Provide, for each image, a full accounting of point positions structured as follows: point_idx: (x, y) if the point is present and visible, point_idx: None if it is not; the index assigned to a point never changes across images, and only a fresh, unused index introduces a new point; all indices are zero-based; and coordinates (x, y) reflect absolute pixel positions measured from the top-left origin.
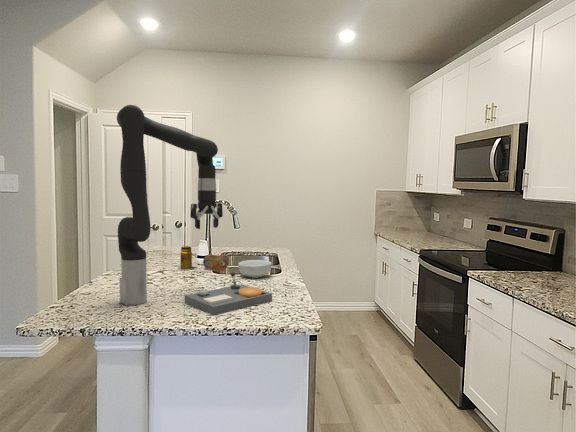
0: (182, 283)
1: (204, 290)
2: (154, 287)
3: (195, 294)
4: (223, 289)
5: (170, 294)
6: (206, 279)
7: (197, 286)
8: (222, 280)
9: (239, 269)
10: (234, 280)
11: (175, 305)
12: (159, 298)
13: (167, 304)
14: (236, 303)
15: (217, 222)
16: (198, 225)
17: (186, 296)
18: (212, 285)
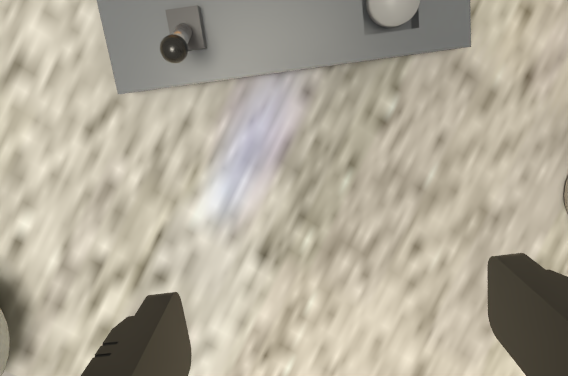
0: (312, 359)
1: (386, 4)
2: (441, 356)
3: (419, 32)
4: (252, 46)
5: (439, 217)
6: None
7: (278, 280)
8: None
9: (6, 357)
10: (181, 29)
11: (506, 34)
12: (507, 182)
13: (526, 70)
14: None
15: (119, 342)
16: (549, 279)
17: (469, 27)
18: (210, 261)
